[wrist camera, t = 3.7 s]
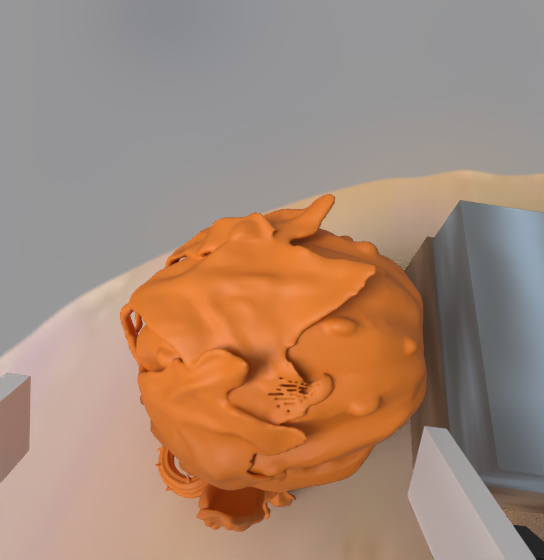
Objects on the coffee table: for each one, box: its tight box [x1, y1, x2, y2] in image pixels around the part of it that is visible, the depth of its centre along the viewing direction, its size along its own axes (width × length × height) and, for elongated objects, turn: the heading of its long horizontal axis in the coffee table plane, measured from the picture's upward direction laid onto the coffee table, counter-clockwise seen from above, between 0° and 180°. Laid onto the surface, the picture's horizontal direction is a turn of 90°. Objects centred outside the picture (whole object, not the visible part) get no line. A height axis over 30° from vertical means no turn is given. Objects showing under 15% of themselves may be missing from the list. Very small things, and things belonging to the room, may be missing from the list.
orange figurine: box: [120, 194, 427, 532], centre depth 19 cm, size 11×11×18 cm
